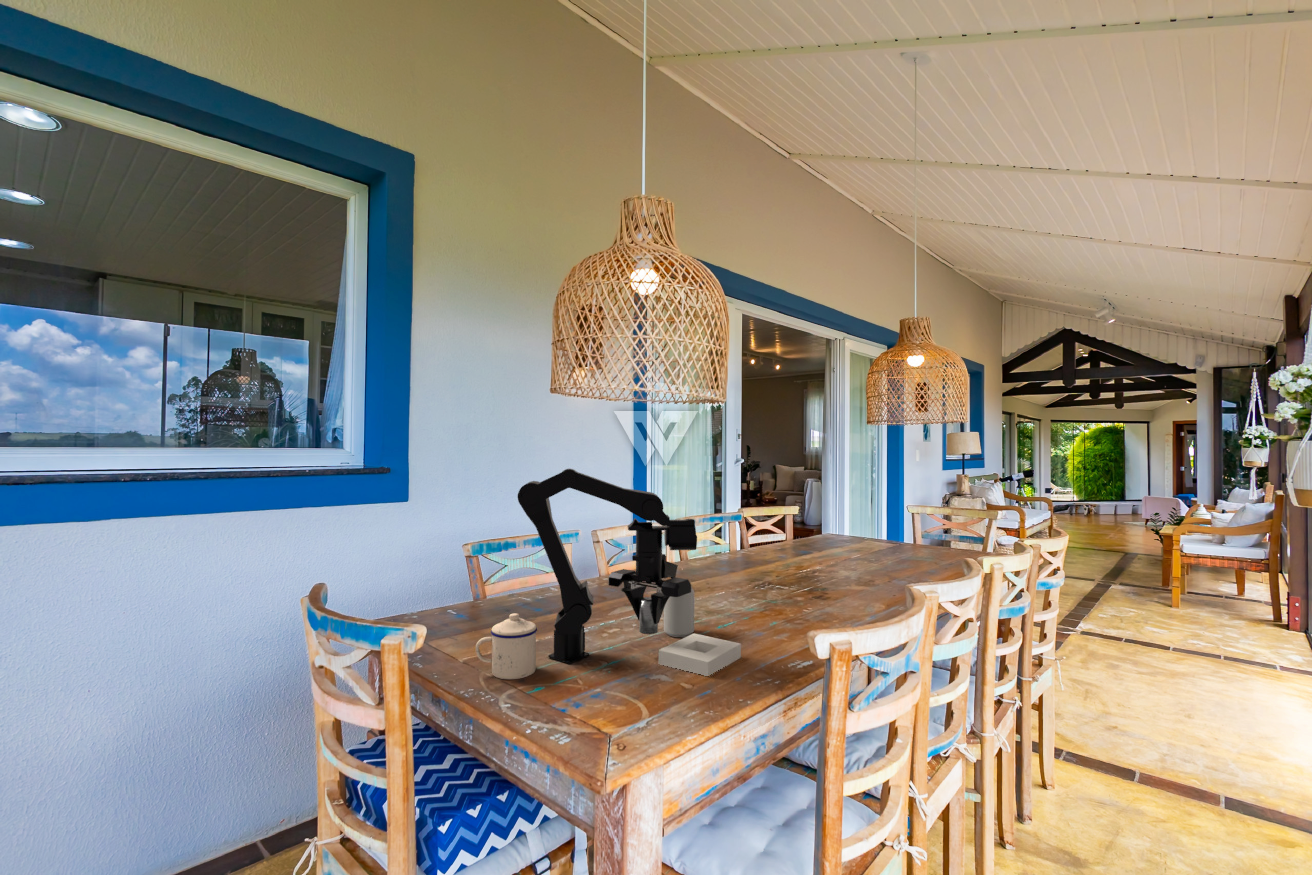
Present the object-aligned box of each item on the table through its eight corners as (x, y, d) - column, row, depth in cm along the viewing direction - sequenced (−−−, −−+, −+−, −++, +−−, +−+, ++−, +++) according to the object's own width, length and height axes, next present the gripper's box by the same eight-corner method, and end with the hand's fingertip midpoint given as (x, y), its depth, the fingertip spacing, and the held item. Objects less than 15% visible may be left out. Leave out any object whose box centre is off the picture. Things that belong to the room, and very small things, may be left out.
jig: (707, 677, 124) (708, 661, 124) (658, 664, 131) (658, 649, 131) (740, 657, 136) (740, 643, 136) (693, 646, 143) (693, 633, 143)
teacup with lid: (535, 662, 132) (536, 607, 132) (537, 678, 123) (538, 619, 123) (476, 666, 129) (477, 610, 129) (474, 683, 120) (474, 622, 120)
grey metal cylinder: (650, 635, 134) (650, 602, 134) (635, 631, 136) (635, 599, 136) (661, 630, 137) (661, 598, 137) (646, 627, 139) (646, 596, 139)
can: (658, 635, 151) (658, 585, 151) (671, 627, 157) (672, 579, 157) (686, 640, 147) (686, 589, 147) (699, 631, 154) (699, 582, 154)
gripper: (704, 549, 138) (704, 620, 138) (637, 541, 149) (636, 607, 149) (676, 557, 129) (676, 633, 129) (607, 547, 140) (606, 617, 140)
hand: (648, 621), depth 137 cm, fingers closed on grey metal cylinder, 4 cm apart
